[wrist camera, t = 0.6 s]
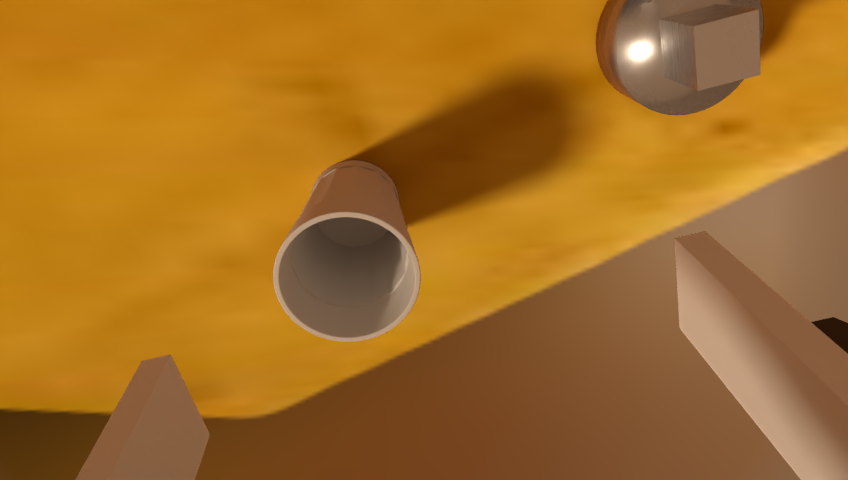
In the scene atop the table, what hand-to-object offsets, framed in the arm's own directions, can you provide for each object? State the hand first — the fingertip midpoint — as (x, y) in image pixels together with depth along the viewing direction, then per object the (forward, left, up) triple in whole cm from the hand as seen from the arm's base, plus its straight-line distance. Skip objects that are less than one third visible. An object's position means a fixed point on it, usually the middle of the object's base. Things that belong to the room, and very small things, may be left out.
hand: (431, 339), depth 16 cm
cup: (+6, -5, -29) cm, 30 cm away
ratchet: (-7, +18, -29) cm, 35 cm away
